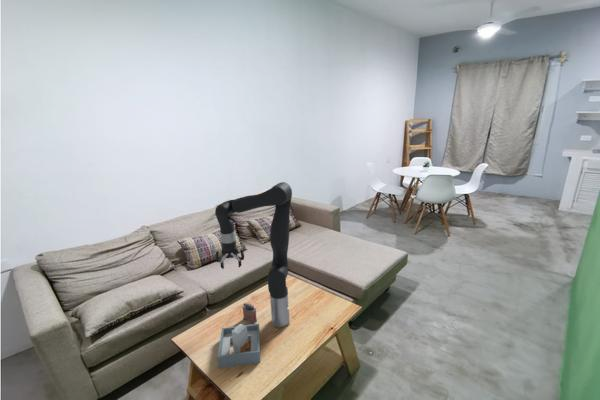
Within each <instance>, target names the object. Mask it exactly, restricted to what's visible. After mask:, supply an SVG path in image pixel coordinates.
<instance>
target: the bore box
mask: <svg viewBox="0 0 600 400" xmlns="http://www.w3.org/2000/svg"><path fill="white" fill-rule="evenodd" d="M244 325H245V324H244ZM237 326H238V325H237ZM237 326H228V327H222V328H221V332H220V338H219V344H218V351H217V364H218V369H221V368H222V369H223V368H230V367H237V366H243V365H251V364H252V365H253V364H260V363H261V337H260V336H261V334H260V323H251V324H246V325H245V326H247V335H248V342H250V351H244V352H242V353H235V352H233V353H231V344H233V340H232V330H234V329H235V328H236V327H237Z"/></svg>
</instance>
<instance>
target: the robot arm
mask: <svg viewBox="0 0 600 400" xmlns="http://www.w3.org/2000/svg"><path fill="white" fill-rule="evenodd" d="M292 197H293V189H292V187H291V186H290V184H288V183H287V182H283V181H282V182H279V183H276V184H275V185H273V186H272V187H271V188H270V189H269V188H268V190H265V191H263V192H261V193H258V194H251V195H245V196H241V197H237V198H235V199H228V200H226V201H224V202H222V203H220V204H218V205H217V206H216V207H215V210H214V211H215V213H214V214H215V217H216V220H217V222H218V224H219V231H220V245H221V250H219V249H217V250H216V251H215V262H216V263H220V268H221V269H222V270H224V269H225V263H224V261H225V260H226V259H230V258H231V259H236V260H237V261H238V263H237V264H238V268H241V267H242V261H244V260H245V252H244V249H243V247H241V248H238V246H237V238H236V232H235V223H234V221H233V220H232V219H230V217H229V216H230V215H232V214H235V213H237V214H239V213H244V212H248V211H253V210H254V209H259V208H264V207H272V206H275V209H274V214H273V217H272V221H271V225H270V228H269V229H270V230H269V241H270V246H271V250H272V263H271V267H270V268H269V271H268V273H267V279H266V280H267V285H268V288H267V290H268V292H269V297H270V298H269V299H270V314H271V315H270V316H271V317H270V318H271V324H272V325H273V326H274V327H275V328H285V327H286V326H288V325H290V324H291V323H290V307H289V290H288V287H287V277H288V274H289V264H288V251H289V241H290V219H291V218H290V215H291V214H290V211H291V210H290V209H291V202H292ZM238 252H239V254H240V255H239V254H238ZM220 255H222V257H221V258H220Z"/></svg>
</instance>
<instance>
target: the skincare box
mask: <svg viewBox="0 0 600 400" xmlns="http://www.w3.org/2000/svg"><path fill="white" fill-rule="evenodd" d="M232 340H233V343H232V347H233V349H232V351H233V353H242V352H246V350H247V349H248V348H249V341H248V335H247V326H245V324H242V323H239V324H238V325H237V327H236V328H235V329H234V330H232Z"/></svg>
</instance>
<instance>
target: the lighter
mask: <svg viewBox="0 0 600 400" xmlns="http://www.w3.org/2000/svg"><path fill="white" fill-rule="evenodd" d="M242 311H243V312H242V313H243V314H242V315H243V318H242V319H243V321H245V322H248V323H251V324H257V322H258V318H257V309H256V307H254V304H251V303H248V302H244V303H243V305H242Z"/></svg>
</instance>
